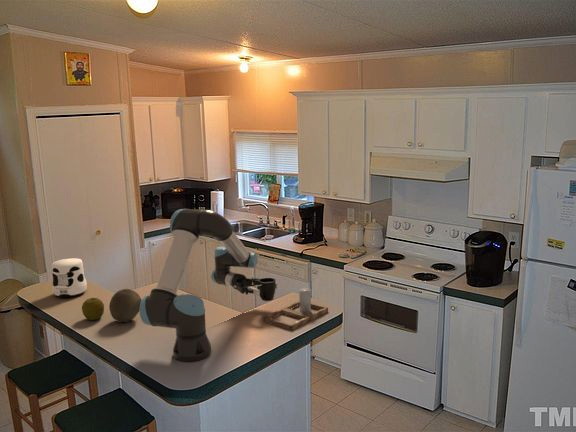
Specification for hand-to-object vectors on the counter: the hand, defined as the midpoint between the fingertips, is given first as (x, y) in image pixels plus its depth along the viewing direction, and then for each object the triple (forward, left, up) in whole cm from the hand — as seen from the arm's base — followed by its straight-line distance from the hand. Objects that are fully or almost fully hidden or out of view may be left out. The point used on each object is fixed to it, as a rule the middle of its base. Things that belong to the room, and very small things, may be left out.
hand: (268, 289), depth 248 cm
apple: (-13, +82, -12) cm, 84 cm away
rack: (-3, -13, -12) cm, 18 cm away
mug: (+1, +2, -6) cm, 7 cm away
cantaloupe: (-14, +65, -12) cm, 68 cm away
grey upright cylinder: (+3, -17, -12) cm, 21 cm away
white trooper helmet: (+19, +113, -12) cm, 115 cm away
